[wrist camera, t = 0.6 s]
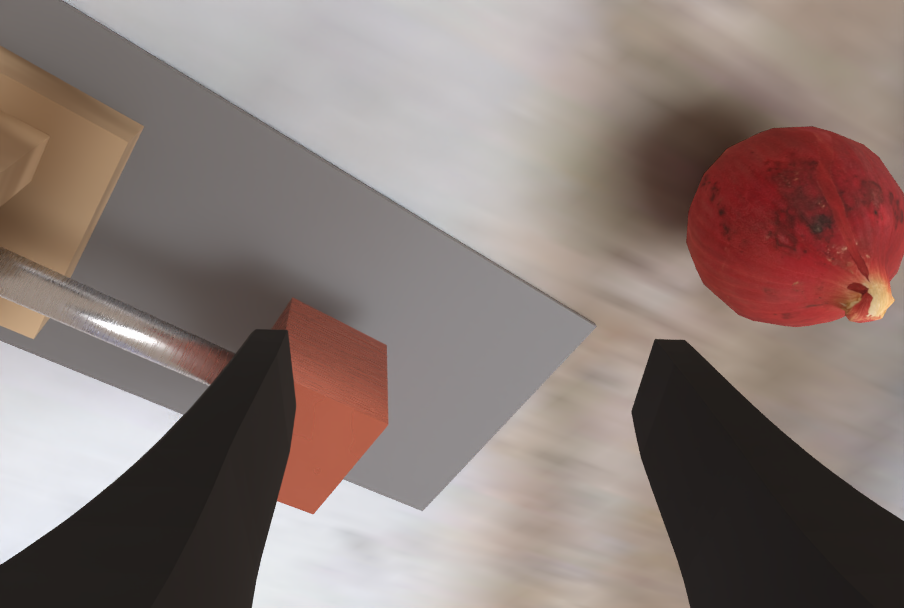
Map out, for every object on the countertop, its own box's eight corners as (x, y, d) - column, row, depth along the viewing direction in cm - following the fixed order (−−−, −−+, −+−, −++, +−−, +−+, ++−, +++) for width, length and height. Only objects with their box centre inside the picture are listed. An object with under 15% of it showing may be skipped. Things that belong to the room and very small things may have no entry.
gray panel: (-120, 287, 22) (-124, 290, 22) (-9, -43, 17) (-13, -43, 17) (422, 507, 30) (422, 511, 30) (595, 323, 26) (596, 326, 25)
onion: (628, 152, 22) (739, 267, 15) (795, 64, 21) (993, 145, 14) (679, 280, 25) (791, 424, 18) (828, 208, 24) (1005, 333, 17)
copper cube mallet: (-204, 200, 18) (-338, 270, 15) (-170, 63, 16) (-312, 107, 13) (322, 427, 24) (313, 514, 21) (386, 345, 22) (388, 424, 19)
